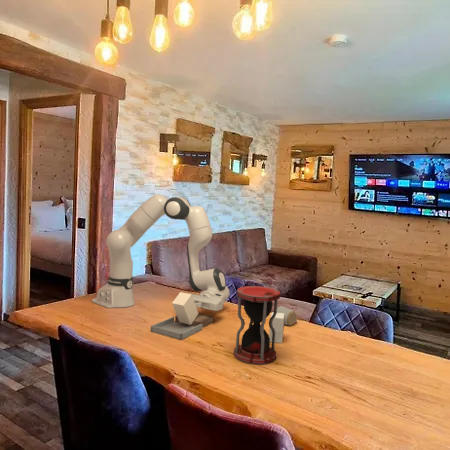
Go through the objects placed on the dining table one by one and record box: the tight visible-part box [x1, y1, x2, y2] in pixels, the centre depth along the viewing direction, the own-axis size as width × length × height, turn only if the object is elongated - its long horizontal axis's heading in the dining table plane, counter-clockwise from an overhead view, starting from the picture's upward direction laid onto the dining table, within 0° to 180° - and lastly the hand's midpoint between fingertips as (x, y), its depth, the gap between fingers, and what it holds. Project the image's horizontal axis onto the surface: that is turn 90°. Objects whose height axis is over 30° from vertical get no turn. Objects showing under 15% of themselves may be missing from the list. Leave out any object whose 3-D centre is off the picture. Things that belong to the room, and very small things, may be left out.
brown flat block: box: [174, 312, 214, 329], centre depth 191 cm, size 14×10×3 cm
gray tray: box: [150, 316, 203, 341], centre depth 180 cm, size 16×16×2 cm
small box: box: [268, 311, 285, 344], centre depth 175 cm, size 8×6×10 cm
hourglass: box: [233, 285, 281, 365], centre depth 157 cm, size 16×16×25 cm
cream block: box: [172, 291, 199, 325], centre depth 184 cm, size 6×7×12 cm
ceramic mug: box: [277, 305, 298, 327], centre depth 198 cm, size 11×8×8 cm
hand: (191, 305), depth 189 cm, fingers closed
